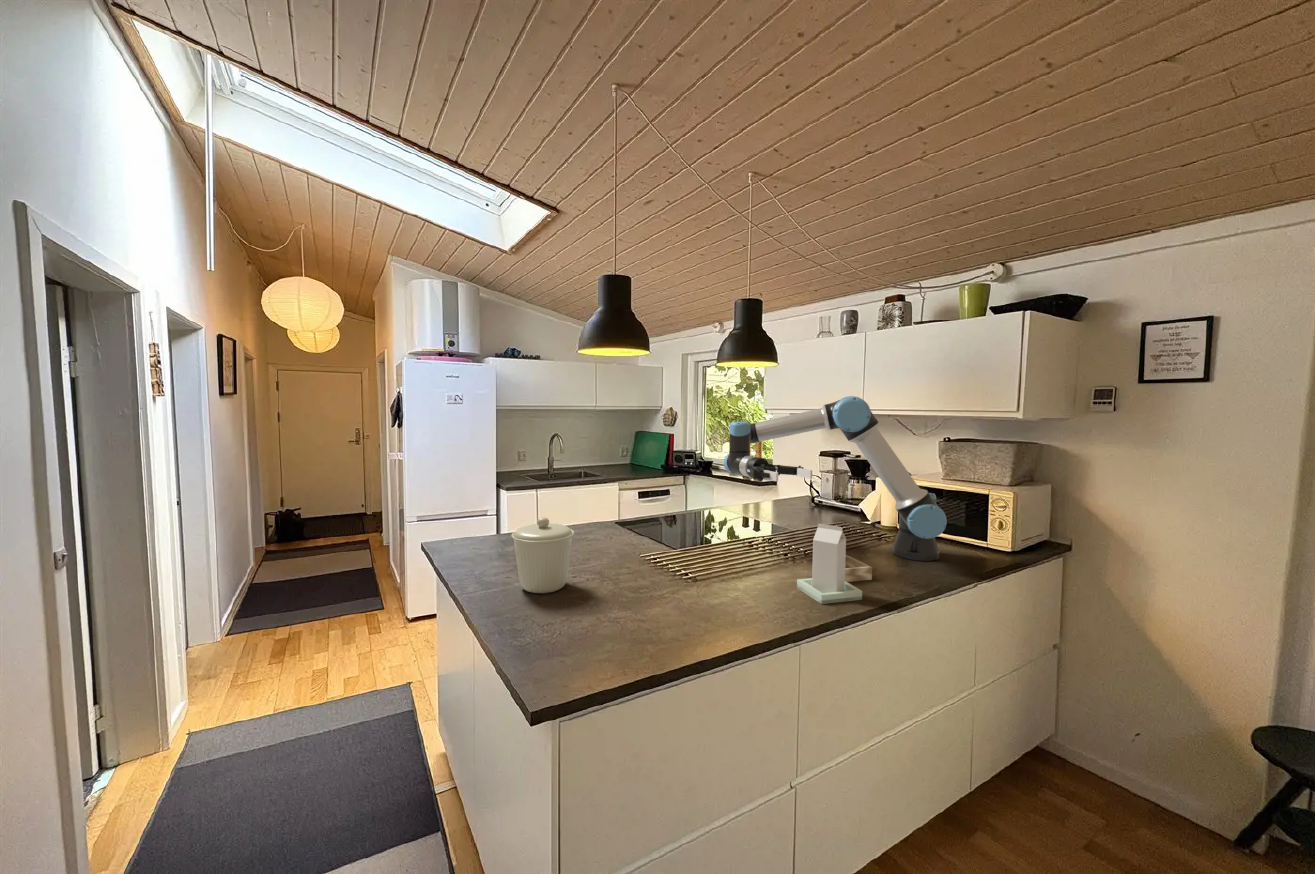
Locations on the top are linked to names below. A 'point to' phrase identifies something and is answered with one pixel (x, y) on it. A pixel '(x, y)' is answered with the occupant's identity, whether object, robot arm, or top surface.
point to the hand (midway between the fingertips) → (794, 475)
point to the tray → (823, 598)
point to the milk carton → (829, 559)
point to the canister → (543, 555)
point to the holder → (856, 570)
